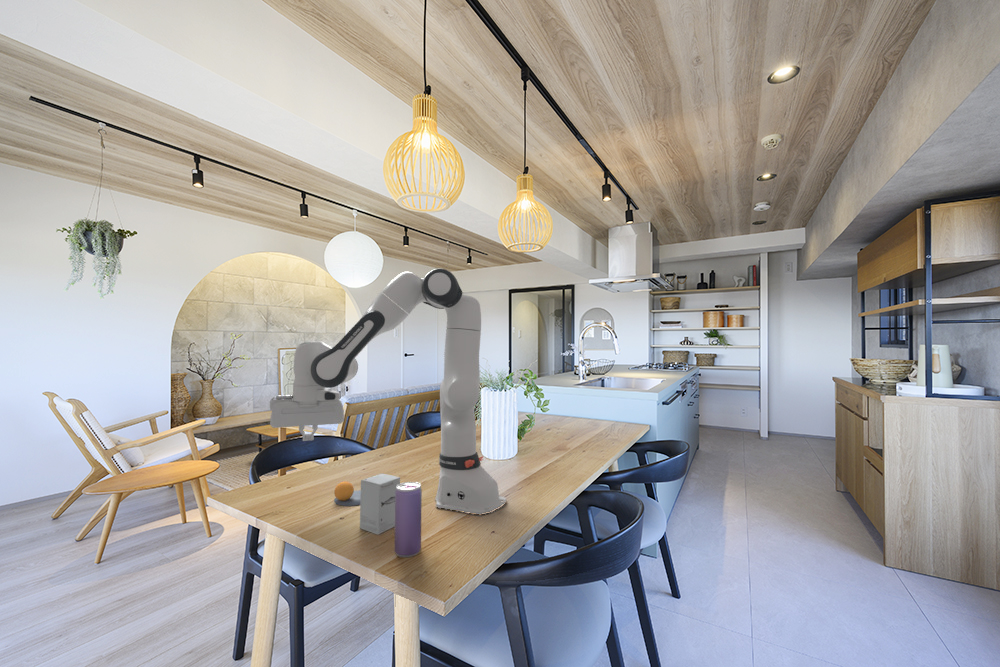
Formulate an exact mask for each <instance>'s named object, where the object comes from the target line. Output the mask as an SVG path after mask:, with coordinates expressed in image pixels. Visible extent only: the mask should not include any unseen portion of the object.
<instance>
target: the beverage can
mask: <svg viewBox="0 0 1000 667" xmlns="http://www.w3.org/2000/svg"><path fill="white" fill-rule="evenodd" d="M422 491H423V490H422V485H421V483H420V482H417V481H407V482H406V481H405V482H400V484H398V485H397V486H396V491H395V527H394V553H395V554H396V555H397V557H399V558H411V557H415V556H416V555H418V554H419V553H420V551H421V549H422V506H423V505H422V504H423V503H422V500H423V498H422V493H423V492H422Z"/></svg>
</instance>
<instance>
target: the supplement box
mask: <svg viewBox="0 0 1000 667" xmlns="http://www.w3.org/2000/svg"><path fill="white" fill-rule="evenodd" d="M398 484H401V476H397V475H396V476H395V475H392V474H386V473H379V474H376V475H374V476H370V477H367V478H364V479H361V480H360V490H361V499H360V505H359V506H360V507H359V509H360V510H359V511H360V513H359V529H360V530H363V531H367V532H369V533H371V534H375V535H378V536H379V535H381V534H383V533H384V532H386V531H388V530H390V529H392V528H395V491H396V486H397V485H398Z"/></svg>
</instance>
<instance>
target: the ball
mask: <svg viewBox="0 0 1000 667" xmlns="http://www.w3.org/2000/svg"><path fill="white" fill-rule="evenodd" d="M354 491H355V490H354V485H353V484H352V483H351V482H349V481H342V482H339V483H338V484H337V485H336V486H335V488H334V492H333V493H334V496H335V498H337V499H338V500H340V501H345V500H348V499H349V498H350V497H351V496H352V495H353V492H354Z"/></svg>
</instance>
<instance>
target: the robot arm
mask: <svg viewBox="0 0 1000 667" xmlns="http://www.w3.org/2000/svg"><path fill="white" fill-rule="evenodd" d="M421 303H423V304H425V305H428V306H430V307H432V308H436V309H437V310H438V309H439V310H442V309H444V311H445V312H446V319H447V320H446V330H445V331H446V332H445V339H444V340H445V341H444V342H445V343H444V354H443V355H444V363H443V368H444V369H443V379H442V380H441V382H440V386H439V407H440V408H439V412H440V453H439V458H438V460H439V462H438V464H439V466H440V467H439V470H440V471H439V477H438V478H439V480H438V487H437V491H436V494H435V495H436V496H435V498H434V500H436V501H435V502H436V503H435V507H436V508H437V507H438V508H437V509H441V508H445V509H444V510H447V509H450V510H449V511H452V510H457V511H456V512H458V511H464V512H470V513H476V514H482V513H486V512H490V511H492V510H494V509H496V508H498V507H500V506H501V505H502V504H504V503H505V501H506V502H507V497H505V496H504V495H503V496H502V495H500V493H499V492H500V491H499V486H498V482H497V480H495V478H494V477H493V476H492V475H491V474H490V473H489V472H488V471H487V470H486V469H485V468H484V467H483V466H482V465H481V462H482V461H484V456H483V455H482V456H479V453H478V452H477V425H476V416H475V406H476V405H477V403H478V401H479V398H480V374H481V373H480V349H481V348H480V346H481V335H482V333H481V332H482V312H481V304H480V302H479V300H478V299H477V298H475V297H473V296H471V295H467V294H465V295H464V294H463V290H462V288H461V286H460V284H459V282H458V279H457V278H456V276H455V275H454V274H453V273H452V272H451V271H449V270H448V269H445V268H439V267H438V268H435V269H432V270H430V271H429V272H427V273H426V275H425V276H424V278H422V277H419V276H418V275H417V274H415V273H413V272H411V271H404V272H401V273H400V274H398V275H397V276H395V277H394V278H393V279H392V280H390V282H389V283H388V284H387V285H385V287H383V289H382V290H381V291H380V292H379V293H378V295H377V296H376V297H375V298H374V300H373V301H372V302H371V304H370V305H369V307H368V308H367V309H366V311H365V312H363V314H362V316H361V317H360V319H359V320H358V321H357V322H356V323H355V324H353V326H352V327H351V329H350V330H348V331H347V333H346V334H345V335H343V337H342V338H341V339H340V340H339V342H337V344H336V345H334V346H333V347H331V346H330V345H328V344H326V343H325V342H324V341H323V340H322V341H321V340H314V341H313V340H310V341H305V342H303V343H300V344H299V345H297V346H296V348H295V352H294V356H293V357H294V358H293V370H292V371H293V375H294V380H293V384H292V394H286V395H276V396H275V397H272V398H271V399H270V401H269V409H270V410H271V414H270V420H269V422H270V423H269V425H270V427H272V428H274V429H275V428H276V429H277V428H279V429H280V428H291V427H293V428H294V427H298V431H299V432H300V434H301V435H302V442H307V441H309V442H310V441H314V438H315V437H314V435H315V433H316V432H317V430H318V426H323V425H324V426H325V425H338V424H343V422H344V421H345V412H344V405H343V402H342V401H341V400H340V399H341V393H340V392H339V391H338V390H334V389H331V388H335V387H338V386H339V385H342V384H344V383H347V382H349V381H350V380H353V378H355V377H356V375H357V373H358V369H359V364H358V361H357V356H358V355H359V354H361V352H362V351H363V350H364V349H365V348H366V347H367V345H368V344H369V343H370V342H371V341H373V340H374V339H375V338H376V337H378V336H379V335H381V334H383V333H386V332H389V331H392V330H394V329H396V328H397V327H398V326H399V325H400V324H401V323H403V321H404V320H406V318H407V317H408V316H409V315H410V314H411V313H412V311H413V310H414V309H415V308H416V307H417V306H418V305H419V304H421ZM307 426H308V427H309V426H312V432H311V433H305V431H304V430H305V427H307ZM501 501H503V502H501Z"/></svg>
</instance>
